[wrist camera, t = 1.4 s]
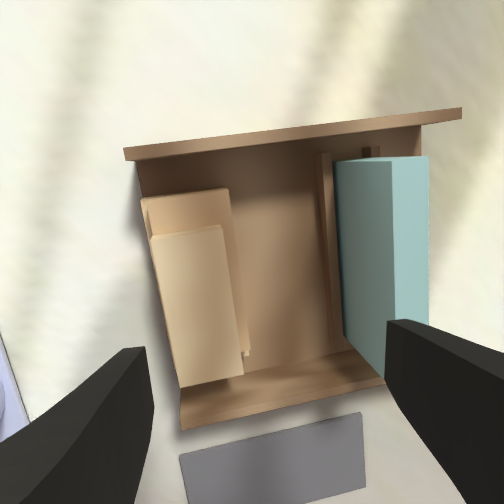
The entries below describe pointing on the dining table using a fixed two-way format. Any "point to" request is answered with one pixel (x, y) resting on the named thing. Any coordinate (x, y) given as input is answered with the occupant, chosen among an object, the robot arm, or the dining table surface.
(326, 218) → the rack
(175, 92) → the dining table surface
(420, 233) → the teal rectangular block
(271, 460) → the mat
